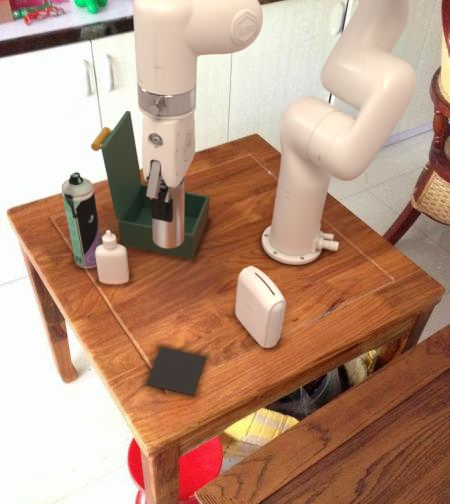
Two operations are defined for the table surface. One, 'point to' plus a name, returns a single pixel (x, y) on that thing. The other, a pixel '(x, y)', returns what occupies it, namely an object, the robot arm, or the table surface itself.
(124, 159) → the lid
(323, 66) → the robot arm
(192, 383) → the coaster
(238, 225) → the table surface
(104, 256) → the eye dropper bottle
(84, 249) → the spray can
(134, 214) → the chest
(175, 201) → the tin can
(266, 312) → the photo printer
